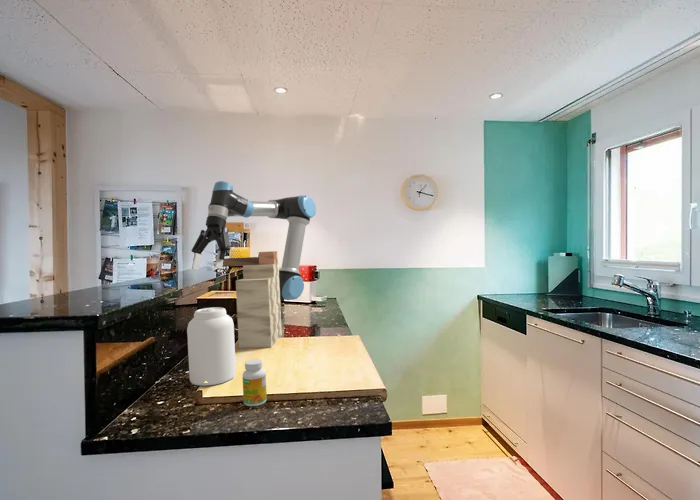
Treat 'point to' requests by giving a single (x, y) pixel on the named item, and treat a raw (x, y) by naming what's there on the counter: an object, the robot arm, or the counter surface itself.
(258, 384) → the supplement bottle
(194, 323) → the white jar
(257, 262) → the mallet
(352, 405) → the counter surface
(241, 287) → the stand
